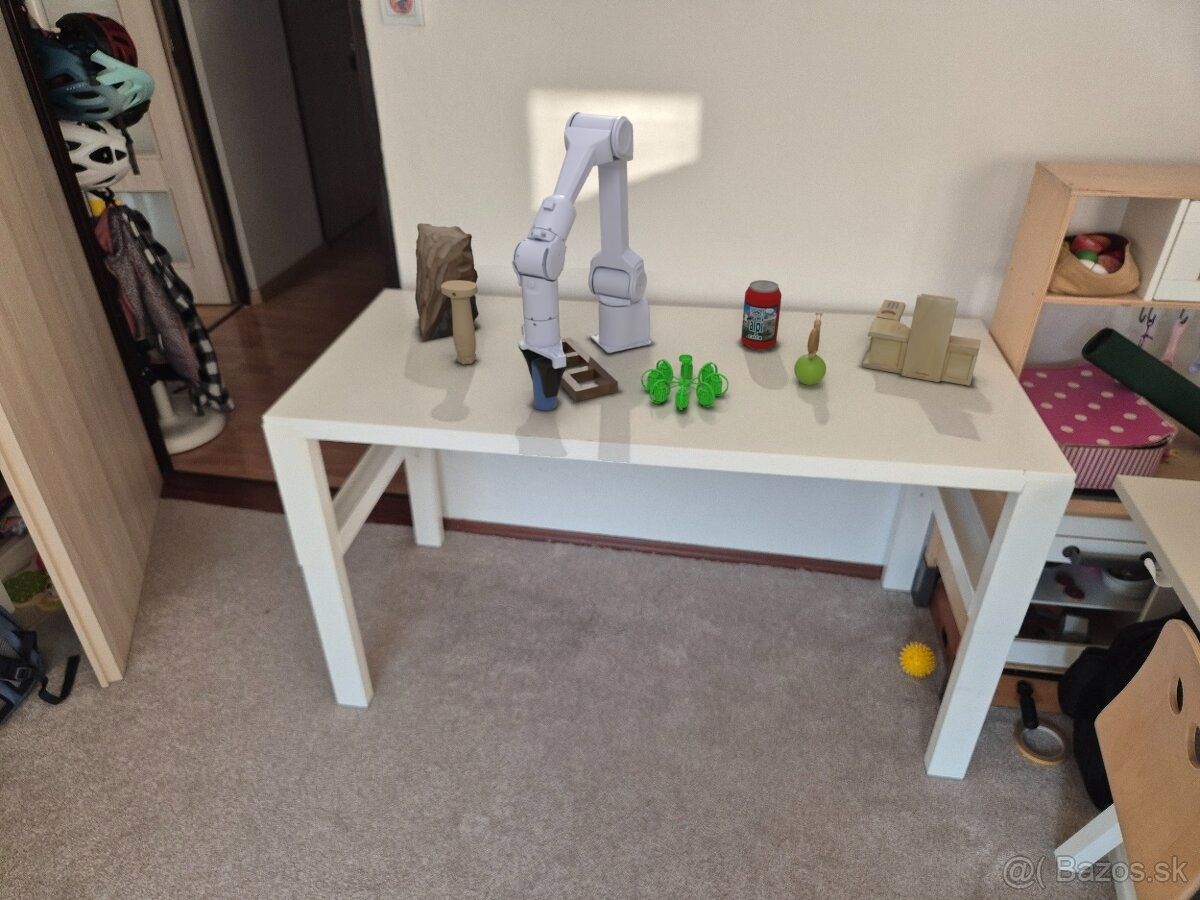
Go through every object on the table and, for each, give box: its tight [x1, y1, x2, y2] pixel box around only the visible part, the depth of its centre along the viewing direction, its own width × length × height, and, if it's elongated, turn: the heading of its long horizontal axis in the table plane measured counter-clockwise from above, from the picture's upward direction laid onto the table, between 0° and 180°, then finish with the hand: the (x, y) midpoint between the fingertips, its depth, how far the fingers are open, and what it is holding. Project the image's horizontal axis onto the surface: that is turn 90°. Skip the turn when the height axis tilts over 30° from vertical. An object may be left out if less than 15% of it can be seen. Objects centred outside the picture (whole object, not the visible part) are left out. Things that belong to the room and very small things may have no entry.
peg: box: [531, 357, 558, 411], centre depth 140 cm, size 4×4×8 cm
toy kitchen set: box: [862, 293, 982, 386], centre depth 151 cm, size 18×17×15 cm
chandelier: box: [640, 353, 729, 411], centre depth 143 cm, size 15×15×7 cm
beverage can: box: [740, 279, 782, 351], centre depth 159 cm, size 7×7×12 cm
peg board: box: [560, 336, 619, 403], centre depth 152 cm, size 8×21×2 cm, turn 25°
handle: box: [441, 280, 479, 366], centre depth 153 cm, size 5×6×15 cm
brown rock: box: [414, 222, 480, 342], centre depth 165 cm, size 13×13×20 cm
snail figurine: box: [793, 311, 827, 386], centre depth 145 cm, size 5×6×12 cm
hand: (545, 389), depth 141 cm, fingers open, 5 cm apart
